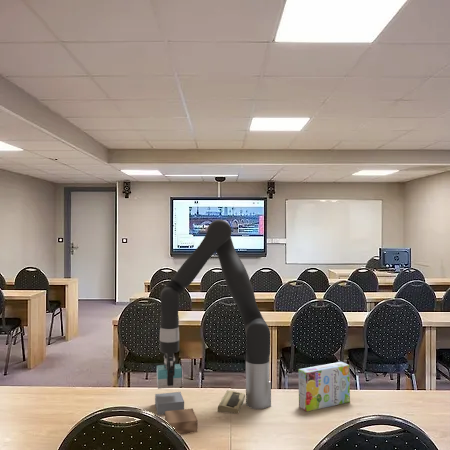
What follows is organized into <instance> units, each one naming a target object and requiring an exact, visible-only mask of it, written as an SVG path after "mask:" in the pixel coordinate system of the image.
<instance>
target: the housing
mask: <svg viewBox="0 0 450 450" xmlns="http://www.w3.org/2000/svg"><path fill="white" fill-rule="evenodd" d="M170 372H172V370H170V371H169V373H170ZM182 379H183V370H182V366H181V364H180V363H175V375H174V376H173V386H168V385H167V370H166V366H164V364H160V365H156V386H157V389H169V388H182V385H183V384H182V383H183V380H182Z"/></svg>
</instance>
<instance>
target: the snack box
mask: <svg viewBox="0 0 450 450" xmlns="http://www.w3.org/2000/svg"><path fill="white" fill-rule="evenodd" d="M297 378H298V407H299V408H300V409H301V410H303V411H305V412H310V411H315V410H316V411H317V410H320V409H325V408H328V407H334V406H337V405H341V404H347V403H350V402H351V389H350V388H351V387H350V385H351V384H350V383H351V380H350V378H351V376H350V364H348V363H346V362H343V361H336V362H333V363H327V364H319V365H315V366H309V367H304V368H298V377H297Z"/></svg>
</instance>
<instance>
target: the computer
mask: <svg viewBox="0 0 450 450" xmlns="http://www.w3.org/2000/svg"><path fill="white" fill-rule="evenodd" d="M245 399H246V393H243V392H241V391H240V392H239V391H235V390H229V389H228V390H226V391H225V393H224V395H223V396H222V398H221V401H220V402H219V404H218V407H217V412H218V413H223V414H224V413H226V414H237V415H238V413H239V412H240V409H241V407H242V405H243V403H244V400H245Z"/></svg>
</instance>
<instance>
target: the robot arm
mask: <svg viewBox="0 0 450 450" xmlns="http://www.w3.org/2000/svg"><path fill="white" fill-rule="evenodd" d="M231 236H232V227H231V225H230V223H229V222H227V221H226V220H223V219H216V220H214V221H211V222H210V224H209V225H208V227H207V229H206V233H205V235H204V237H203V239H202V241H200V243H199V245H198V246H197V248H196V249H195V250H194V251H193V252H192V253H191V255H189V257H188V258H186V260H185V261H184V262H183V264H182V265H181V266H180V268H178V270H177V271H176V273H175V274H174V276H173V277H172V278H171V279H170V280H169V281H168V282H167V284H166V285H165V286H164V287H162V290H161V291H160V321H159V323H160V326H159V327H160V329H159V352H160V353H162V354H164V355H163V360H164V361H163V363H164V364H163V365H164V366H166V370H167V385H168V386H173V376H174V375H175V364H176V356H175V355H174V354H175V353H178V352H180V322H179V321H180V319H179V307H180V306H179V305H180V296H181V295H182V293H183V292H184V291H185V290H186V289H187V288H189V286H190V285H191V284H192V282H193V281H194V280H195V278H197V276H198V275H199V273H200V272H201V270H202V269H203V267H205V265H206V263H207V262H208V261H209V259H211V257H212V256H213V255H214V253H216V255H217V257H218V260H219V264H220V269H221V272H222V274H223V278H224V281H225V284H226V287H227V288H228V291H229V293H230V296H231V297H232V299H233V301H234V303H235V305H236V306H237V308H238V310H239V312H240V316H241V319H242V322H243V323H242V324H243V326H244V330H245V331H244V332H245V336H246V337H245V339H246V343H245V344H246V348H245V350H246V351H245V406H247V408H250V409H254V410H263V409H267V408H268V407H271V406H272V381H271V380H270V356H271V330H270V327H269V326H268V324H267V322H266V321H265V318H264V317H263V315H262V313H261V311H260V309H259V307H258V304H257V301H256V296H255V292H254V287H253V285H252V282H251V279H250V277H249V274H248V271H247V269H246V268H245V265H244V264H243V262H242V259H241V258H240V257H239V255H238V253H237V252H236V249H235V247H234V243H233V240H232V237H231ZM170 370H172V372H170V373H169V371H170Z"/></svg>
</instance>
